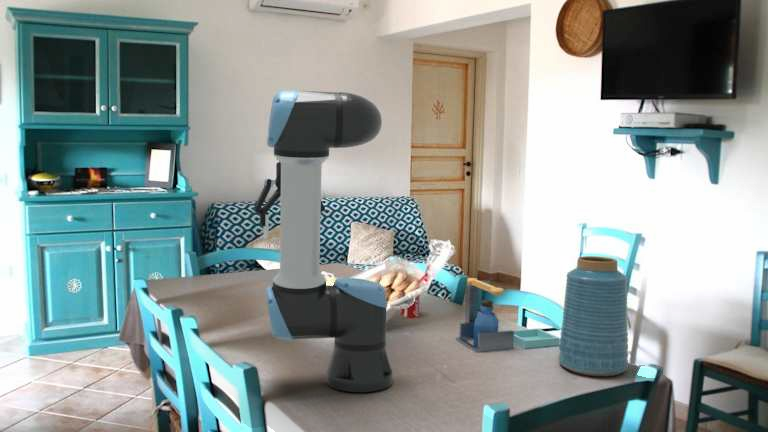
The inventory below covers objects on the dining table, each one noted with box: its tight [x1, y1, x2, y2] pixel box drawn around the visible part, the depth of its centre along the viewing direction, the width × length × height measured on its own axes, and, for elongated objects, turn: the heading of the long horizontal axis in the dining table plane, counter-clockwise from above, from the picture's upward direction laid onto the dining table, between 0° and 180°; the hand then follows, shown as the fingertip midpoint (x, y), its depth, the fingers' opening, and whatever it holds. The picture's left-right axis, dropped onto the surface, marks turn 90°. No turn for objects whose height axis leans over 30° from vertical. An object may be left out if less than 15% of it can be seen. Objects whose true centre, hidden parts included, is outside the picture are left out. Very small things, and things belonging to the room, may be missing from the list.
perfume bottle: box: [472, 299, 499, 348], centre depth 188 cm, size 6×6×12 cm
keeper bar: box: [466, 277, 504, 296], centre depth 189 cm, size 17×3×2 cm, turn 19°
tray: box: [512, 328, 561, 350], centre depth 191 cm, size 11×11×2 cm
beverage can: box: [400, 295, 421, 319], centre depth 216 cm, size 6×6×12 cm
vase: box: [557, 255, 629, 377], centre depth 169 cm, size 16×16×27 cm
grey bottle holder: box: [455, 284, 514, 353], centre depth 190 cm, size 16×11×15 cm
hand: (289, 237), depth 197 cm, fingers open, 13 cm apart
